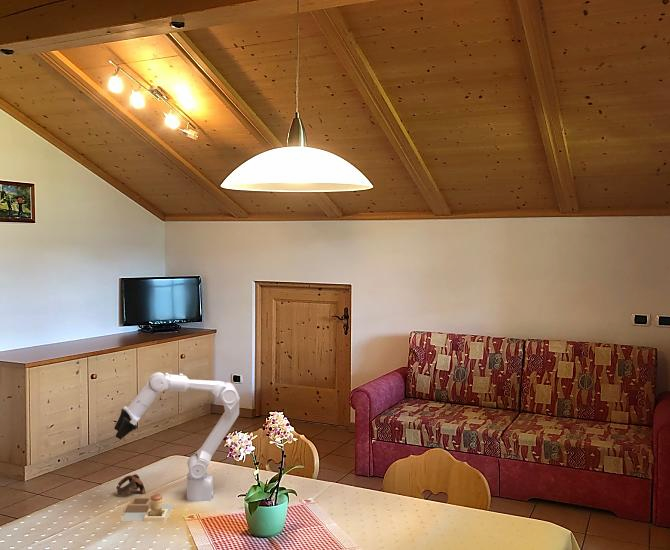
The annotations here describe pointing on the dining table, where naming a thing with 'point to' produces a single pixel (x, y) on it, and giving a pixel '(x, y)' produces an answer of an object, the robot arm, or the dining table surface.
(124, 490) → the brown curved piece
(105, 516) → the dining table surface
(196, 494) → the robot arm
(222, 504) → the dining table surface
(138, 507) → the mount
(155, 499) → the pin
